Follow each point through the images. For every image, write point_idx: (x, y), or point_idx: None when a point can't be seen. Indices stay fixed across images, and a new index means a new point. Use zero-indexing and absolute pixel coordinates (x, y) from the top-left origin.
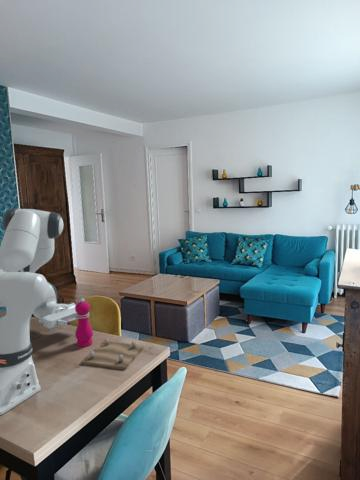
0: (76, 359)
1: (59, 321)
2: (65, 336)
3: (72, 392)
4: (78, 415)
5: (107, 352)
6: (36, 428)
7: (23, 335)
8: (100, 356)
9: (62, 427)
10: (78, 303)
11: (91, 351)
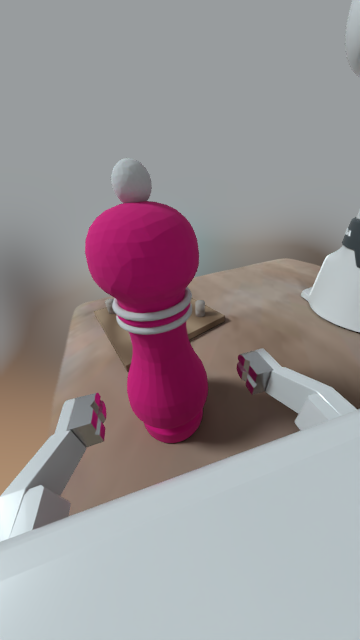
0: (229, 339)
1: (323, 388)
2: None
3: (251, 283)
4: (249, 266)
5: None
6: (290, 266)
7: None
8: None
9: (264, 263)
10: (167, 206)
11: (199, 304)
